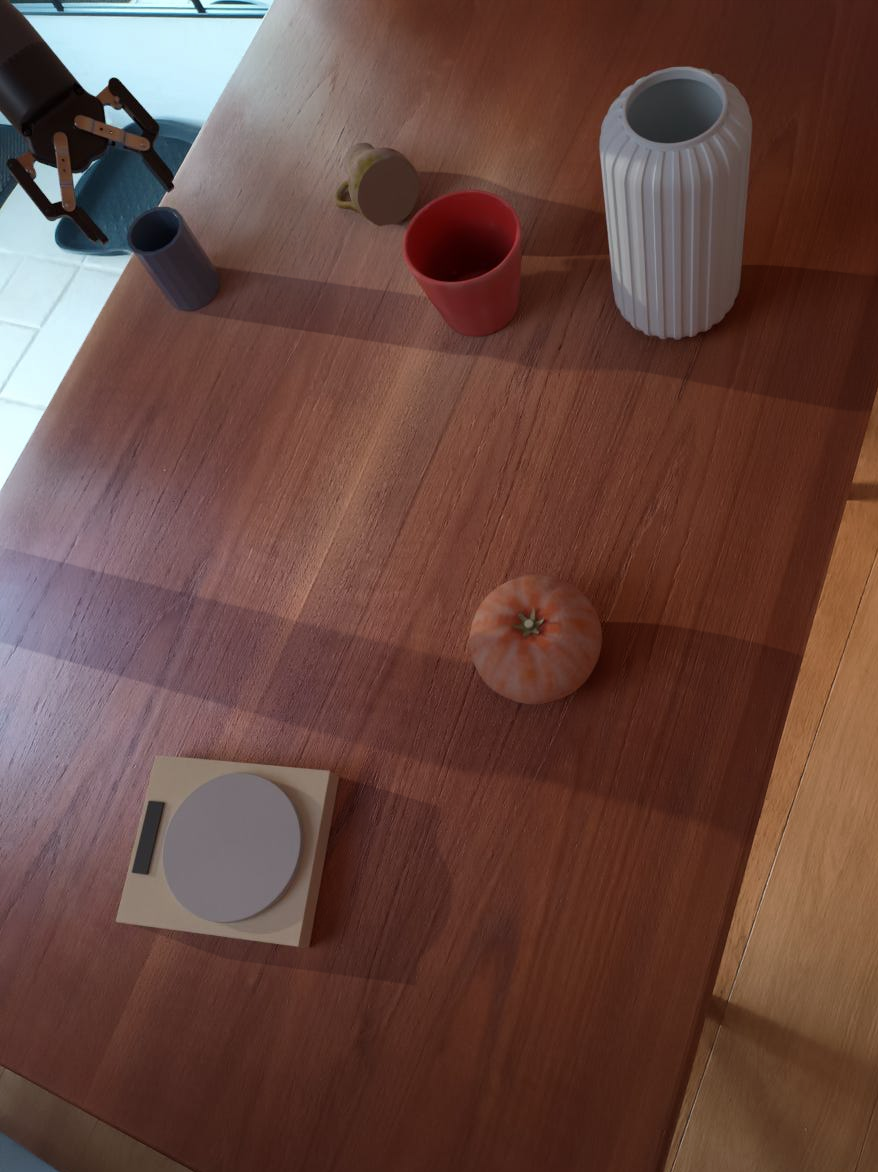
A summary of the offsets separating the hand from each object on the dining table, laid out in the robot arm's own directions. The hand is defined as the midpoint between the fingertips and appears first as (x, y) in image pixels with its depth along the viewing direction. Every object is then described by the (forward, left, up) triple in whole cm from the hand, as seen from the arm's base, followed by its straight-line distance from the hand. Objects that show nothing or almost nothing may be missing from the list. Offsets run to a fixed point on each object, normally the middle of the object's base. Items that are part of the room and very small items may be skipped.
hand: (139, 215), depth 99 cm
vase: (+53, -5, -9) cm, 54 cm away
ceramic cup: (+2, -2, -8) cm, 9 cm away
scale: (+20, -60, -8) cm, 64 cm away
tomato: (+44, -41, -9) cm, 61 cm away
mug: (+21, +9, -9) cm, 25 cm away
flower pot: (+34, -5, -9) cm, 36 cm away
